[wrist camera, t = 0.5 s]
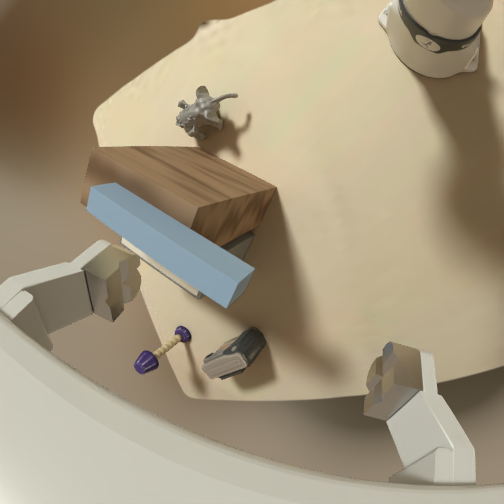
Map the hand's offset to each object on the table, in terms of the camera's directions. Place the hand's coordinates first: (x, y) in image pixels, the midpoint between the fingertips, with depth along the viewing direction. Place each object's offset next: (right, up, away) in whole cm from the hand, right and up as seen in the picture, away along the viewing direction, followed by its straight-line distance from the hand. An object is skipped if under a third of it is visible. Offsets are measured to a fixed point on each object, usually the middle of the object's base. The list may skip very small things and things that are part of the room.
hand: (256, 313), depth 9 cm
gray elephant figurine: (-7, +28, +45) cm, 54 cm away
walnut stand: (-5, +14, +48) cm, 51 cm away
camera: (-2, -18, +57) cm, 60 cm away
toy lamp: (-17, -18, +63) cm, 68 cm away
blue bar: (-9, +4, +24) cm, 26 cm away
